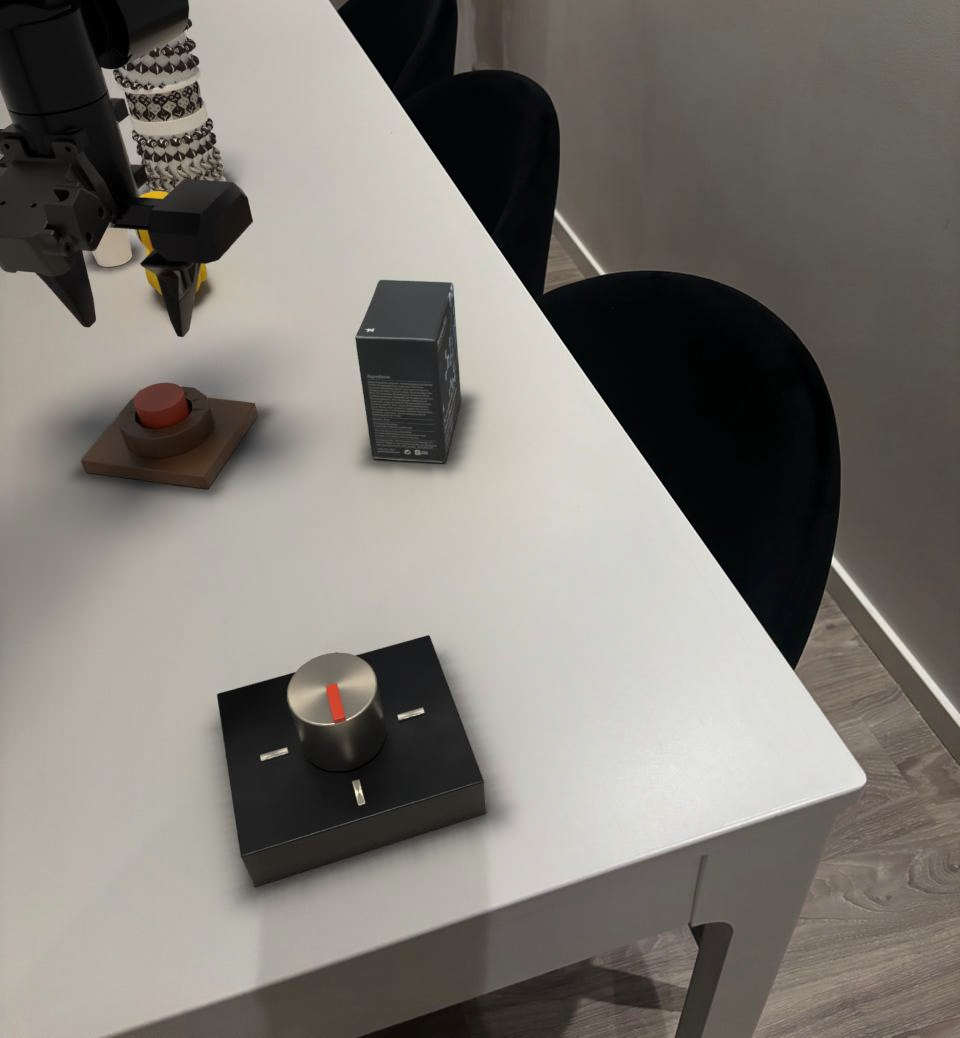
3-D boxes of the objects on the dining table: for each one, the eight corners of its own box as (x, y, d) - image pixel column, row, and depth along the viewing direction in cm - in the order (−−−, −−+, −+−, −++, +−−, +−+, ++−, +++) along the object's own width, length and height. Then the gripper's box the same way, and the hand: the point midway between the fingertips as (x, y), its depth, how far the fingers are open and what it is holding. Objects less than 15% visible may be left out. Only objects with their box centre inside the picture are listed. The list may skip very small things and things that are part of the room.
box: (447, 464, 70) (435, 339, 63) (371, 460, 71) (351, 336, 64) (463, 400, 76) (454, 279, 68) (393, 397, 76) (376, 277, 69)
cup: (127, 273, 93) (86, 151, 85) (77, 270, 94) (32, 149, 86) (151, 247, 97) (114, 127, 89) (103, 244, 98) (62, 125, 90)
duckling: (214, 319, 86) (185, 214, 80) (153, 329, 86) (118, 224, 79) (209, 260, 95) (183, 160, 88) (154, 269, 94) (123, 169, 87)
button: (131, 427, 71) (124, 408, 70) (154, 399, 73) (148, 379, 72) (175, 433, 70) (169, 413, 69) (197, 404, 73) (191, 384, 71)
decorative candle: (152, 214, 103) (73, -51, 86) (141, 181, 109) (66, -72, 92) (236, 197, 105) (176, -66, 88) (221, 165, 111) (162, -85, 94)
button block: (85, 472, 71) (71, 440, 69) (144, 401, 78) (133, 370, 76) (207, 489, 69) (197, 457, 67) (258, 414, 76) (250, 383, 74)
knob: (294, 712, 51) (279, 661, 48) (376, 690, 52) (365, 638, 49) (308, 782, 48) (293, 732, 45) (395, 757, 49) (385, 706, 46)
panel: (253, 887, 47) (239, 855, 45) (228, 725, 54) (215, 691, 52) (487, 813, 49) (484, 779, 47) (433, 667, 56) (429, 632, 54)
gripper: (-175, 144, 52) (-52, 382, 63) (132, 163, 48) (207, 413, 59) (-47, 73, 60) (43, 295, 71) (227, 83, 56) (278, 317, 67)
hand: (136, 329), depth 67 cm, fingers open, 7 cm apart
